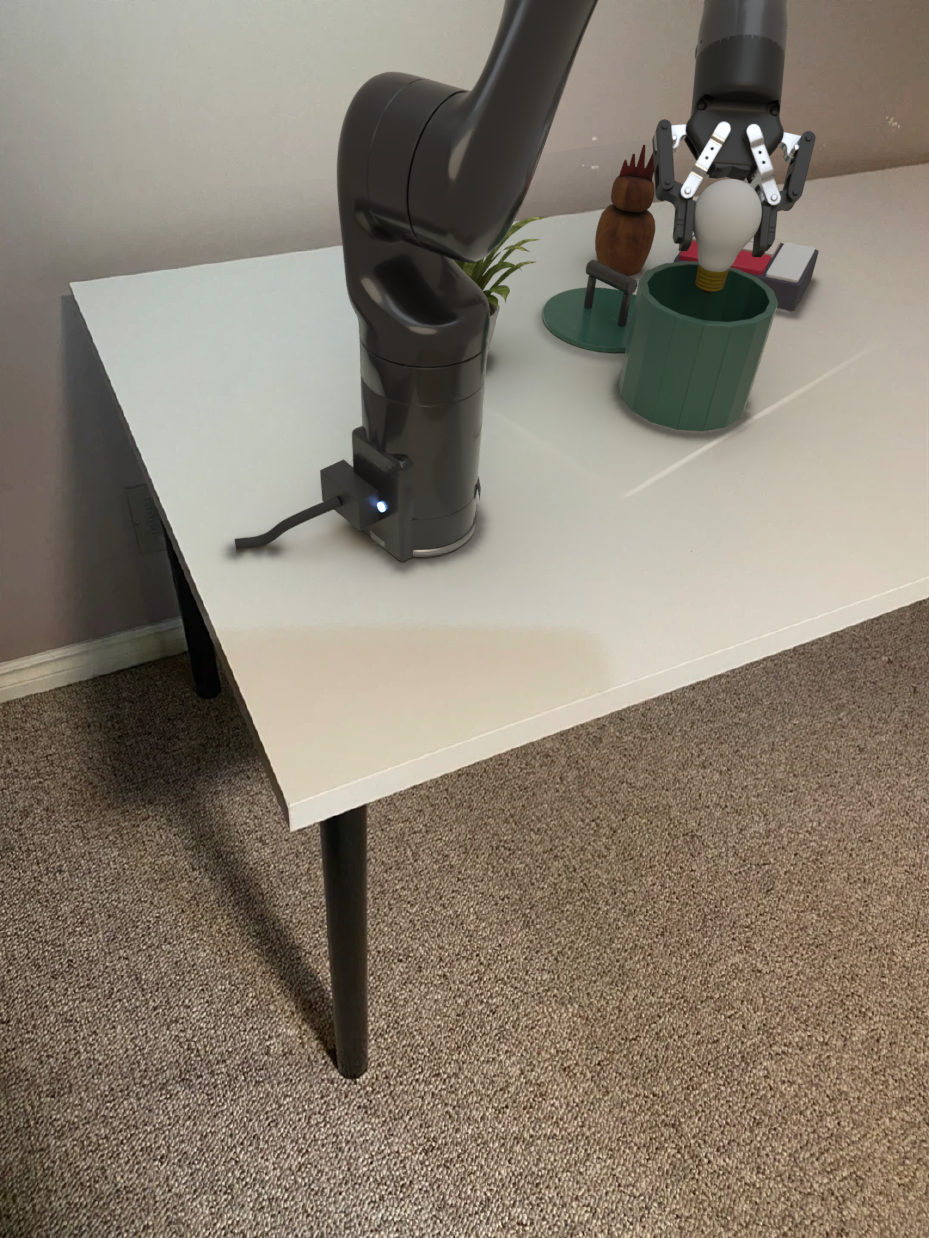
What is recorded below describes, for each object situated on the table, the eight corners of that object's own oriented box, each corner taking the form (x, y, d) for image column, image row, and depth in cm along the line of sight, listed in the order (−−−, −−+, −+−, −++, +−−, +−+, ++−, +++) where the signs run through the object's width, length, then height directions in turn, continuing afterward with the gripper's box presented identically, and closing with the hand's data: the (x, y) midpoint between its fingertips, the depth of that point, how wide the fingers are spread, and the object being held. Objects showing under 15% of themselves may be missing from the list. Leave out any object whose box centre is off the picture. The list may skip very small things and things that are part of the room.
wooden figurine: (653, 270, 114) (680, 140, 103) (633, 287, 110) (659, 154, 99) (604, 255, 116) (625, 126, 105) (583, 271, 112) (603, 140, 102)
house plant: (568, 366, 97) (591, 208, 85) (479, 417, 89) (491, 251, 78) (468, 316, 103) (477, 163, 91) (378, 360, 96) (375, 199, 84)
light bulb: (739, 312, 83) (771, 199, 76) (673, 303, 84) (699, 190, 76) (739, 283, 87) (769, 172, 80) (676, 274, 88) (701, 164, 80)
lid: (608, 371, 96) (619, 313, 92) (516, 320, 103) (522, 263, 98) (689, 332, 103) (702, 276, 99) (597, 286, 110) (606, 231, 105)
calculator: (699, 221, 116) (821, 243, 111) (693, 255, 119) (812, 278, 114) (673, 253, 109) (802, 279, 104) (668, 289, 112) (792, 315, 107)
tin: (692, 451, 87) (722, 340, 79) (593, 393, 93) (611, 285, 85) (768, 405, 93) (804, 298, 85) (671, 354, 100) (695, 249, 91)
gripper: (666, 24, 77) (648, 227, 77) (839, 38, 77) (820, 241, 77) (649, 76, 84) (633, 260, 85) (807, 88, 84) (790, 273, 84)
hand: (722, 250), depth 81 cm, fingers closed on light bulb, 6 cm apart
